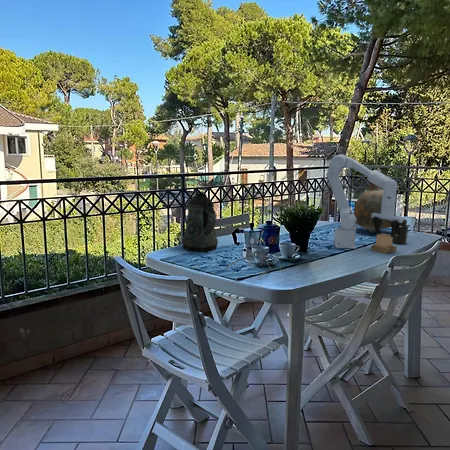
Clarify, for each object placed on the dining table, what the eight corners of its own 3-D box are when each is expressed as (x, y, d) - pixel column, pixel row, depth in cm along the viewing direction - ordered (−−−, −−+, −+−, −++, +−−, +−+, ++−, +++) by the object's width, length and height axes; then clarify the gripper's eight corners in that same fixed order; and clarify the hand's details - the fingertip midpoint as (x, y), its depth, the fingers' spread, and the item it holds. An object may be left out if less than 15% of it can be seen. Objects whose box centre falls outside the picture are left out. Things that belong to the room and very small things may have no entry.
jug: (399, 232, 239) (405, 178, 232) (391, 239, 221) (397, 181, 215) (355, 226, 251) (359, 175, 245) (344, 232, 233) (349, 178, 227)
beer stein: (195, 241, 208) (195, 190, 202) (229, 247, 198) (231, 194, 193) (174, 248, 194) (174, 194, 189) (210, 255, 184) (211, 198, 179)
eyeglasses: (282, 272, 166) (283, 259, 165) (259, 281, 155) (259, 268, 154) (249, 263, 176) (250, 251, 175) (226, 271, 165) (226, 258, 164)
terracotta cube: (385, 247, 194) (386, 236, 193) (375, 245, 198) (376, 234, 197) (391, 246, 197) (392, 235, 196) (382, 243, 201) (383, 233, 200)
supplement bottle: (390, 243, 213) (393, 219, 210) (392, 240, 218) (395, 217, 216) (405, 245, 209) (408, 221, 207) (407, 242, 215) (409, 219, 213)
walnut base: (386, 255, 193) (387, 248, 192) (370, 251, 199) (371, 245, 198) (396, 252, 198) (396, 246, 197) (380, 248, 204) (381, 242, 203)
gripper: (407, 207, 191) (404, 237, 194) (378, 203, 202) (375, 231, 205) (399, 209, 187) (396, 239, 190) (370, 204, 198) (367, 232, 200)
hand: (384, 235), depth 197 cm, fingers open, 7 cm apart
